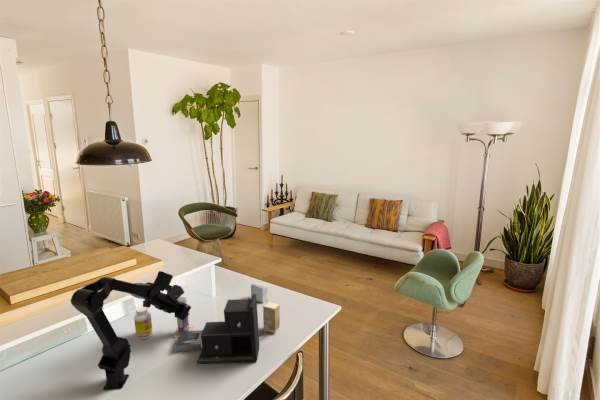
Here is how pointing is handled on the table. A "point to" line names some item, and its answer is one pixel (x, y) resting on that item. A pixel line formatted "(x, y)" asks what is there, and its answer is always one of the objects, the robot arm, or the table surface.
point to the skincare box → (271, 317)
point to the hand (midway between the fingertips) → (184, 313)
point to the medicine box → (259, 292)
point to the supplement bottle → (143, 323)
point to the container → (184, 324)
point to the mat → (180, 333)
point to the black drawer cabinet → (232, 334)
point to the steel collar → (189, 346)
